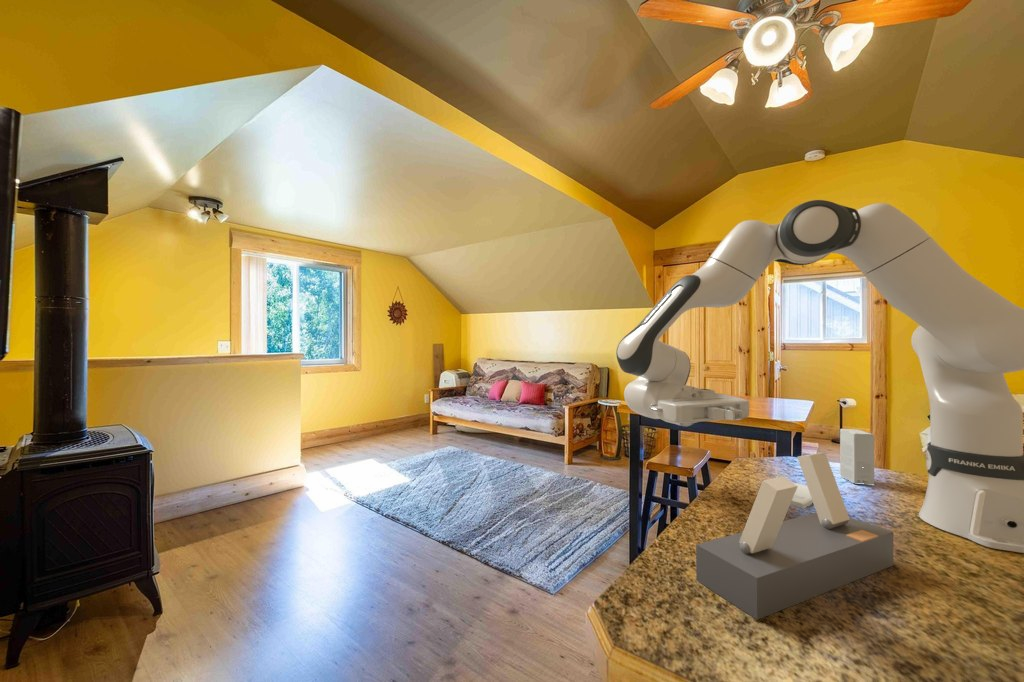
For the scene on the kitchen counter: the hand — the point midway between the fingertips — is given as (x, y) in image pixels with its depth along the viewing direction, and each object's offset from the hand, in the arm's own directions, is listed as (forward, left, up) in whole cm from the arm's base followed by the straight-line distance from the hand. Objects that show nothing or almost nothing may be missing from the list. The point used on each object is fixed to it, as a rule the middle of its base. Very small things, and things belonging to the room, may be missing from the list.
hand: (738, 415), depth 78 cm
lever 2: (-14, +8, -14) cm, 21 cm away
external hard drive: (-8, -20, -20) cm, 30 cm away
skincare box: (-20, -40, -20) cm, 49 cm away
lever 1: (-5, +24, -14) cm, 28 cm away
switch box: (-10, +16, -19) cm, 27 cm away
